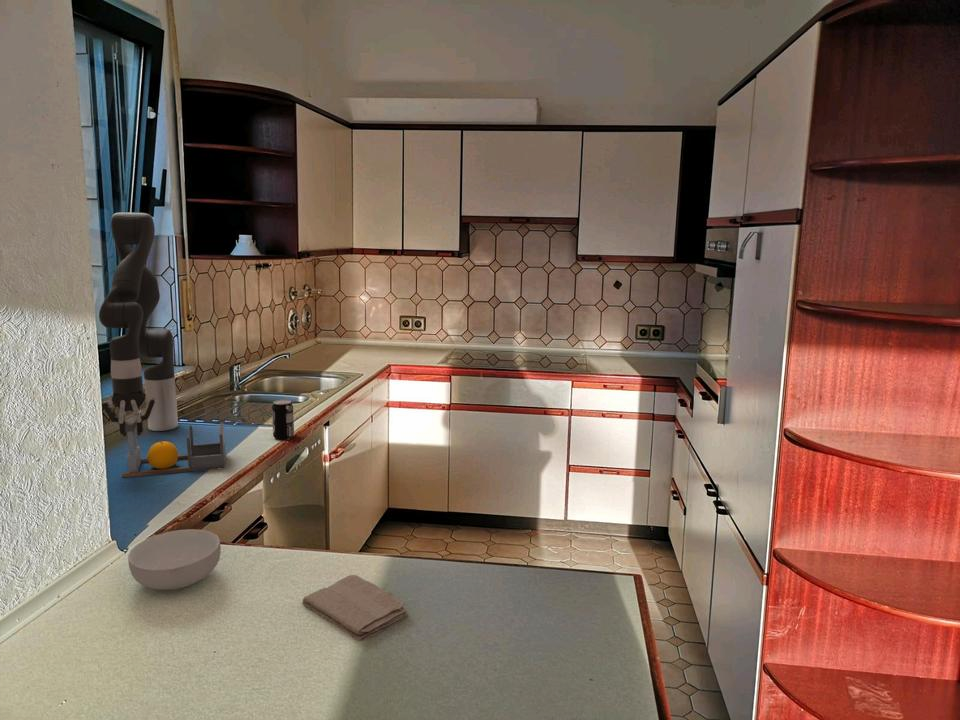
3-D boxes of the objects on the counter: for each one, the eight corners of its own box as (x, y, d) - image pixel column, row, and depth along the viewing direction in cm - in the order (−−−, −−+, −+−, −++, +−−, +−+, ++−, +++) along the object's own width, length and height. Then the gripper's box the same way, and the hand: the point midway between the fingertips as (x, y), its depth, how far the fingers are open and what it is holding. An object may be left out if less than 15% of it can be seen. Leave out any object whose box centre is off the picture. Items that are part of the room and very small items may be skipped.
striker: (133, 463, 206) (129, 417, 203) (140, 462, 206) (137, 417, 203) (128, 474, 197) (124, 426, 194) (136, 473, 198) (132, 426, 195)
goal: (191, 457, 212) (189, 425, 210) (225, 454, 215) (223, 422, 213) (188, 471, 200) (186, 437, 199) (224, 468, 203) (222, 434, 201)
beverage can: (271, 435, 233) (269, 400, 231) (291, 433, 236) (290, 398, 234) (275, 441, 228) (274, 405, 225) (296, 438, 231) (295, 402, 228)
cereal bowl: (150, 560, 149) (148, 529, 148) (232, 559, 150) (230, 527, 149) (115, 604, 133) (112, 568, 131) (207, 602, 134) (205, 567, 132)
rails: (128, 463, 206) (128, 459, 206) (191, 457, 212) (191, 454, 211) (121, 477, 195) (121, 474, 195) (188, 471, 200) (188, 468, 200)
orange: (167, 472, 199) (165, 447, 198) (142, 470, 201) (140, 445, 199) (184, 463, 207) (182, 438, 206) (160, 461, 209) (158, 436, 207)
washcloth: (361, 646, 122) (361, 629, 121) (299, 607, 133) (298, 592, 133) (412, 618, 130) (412, 602, 130) (350, 584, 142) (349, 569, 141)
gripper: (156, 370, 202) (160, 429, 205) (100, 373, 198) (106, 433, 201) (153, 376, 195) (158, 436, 198) (95, 379, 191) (101, 441, 194)
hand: (132, 434), depth 200 cm, fingers open, 3 cm apart
